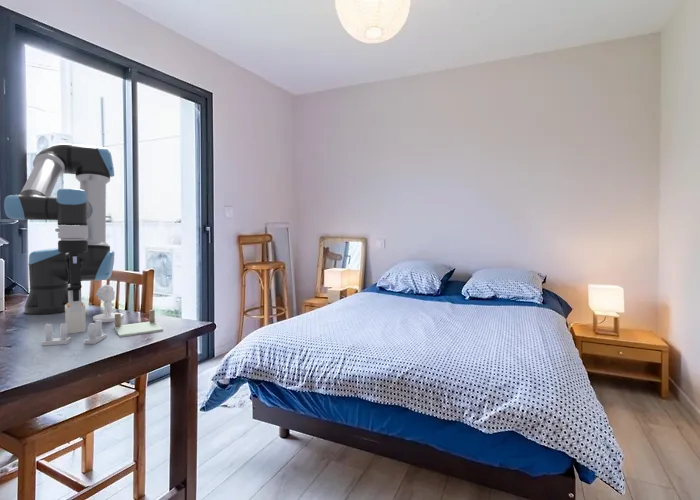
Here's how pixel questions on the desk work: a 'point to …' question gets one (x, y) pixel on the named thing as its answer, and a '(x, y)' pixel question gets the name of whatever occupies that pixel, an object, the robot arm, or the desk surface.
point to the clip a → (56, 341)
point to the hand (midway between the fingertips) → (74, 307)
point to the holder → (136, 326)
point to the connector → (75, 319)
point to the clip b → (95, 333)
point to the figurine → (106, 304)
